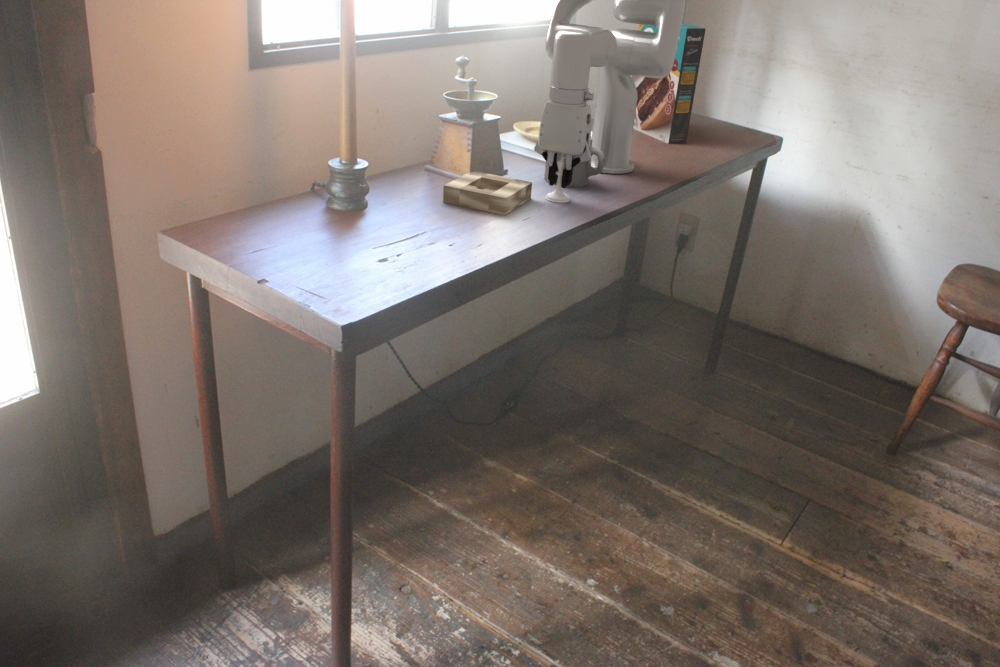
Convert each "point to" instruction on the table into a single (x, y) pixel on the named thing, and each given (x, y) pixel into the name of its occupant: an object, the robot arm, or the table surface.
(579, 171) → the coffee mug
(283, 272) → the table surface
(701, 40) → the cake mix box
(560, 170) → the chess piece
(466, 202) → the socket board
